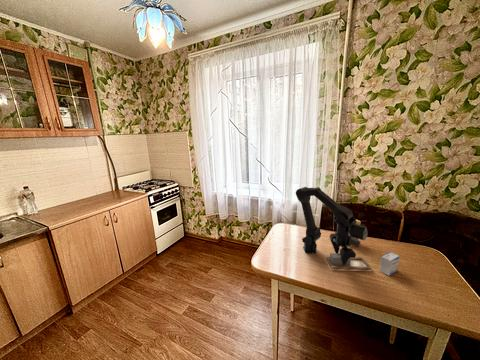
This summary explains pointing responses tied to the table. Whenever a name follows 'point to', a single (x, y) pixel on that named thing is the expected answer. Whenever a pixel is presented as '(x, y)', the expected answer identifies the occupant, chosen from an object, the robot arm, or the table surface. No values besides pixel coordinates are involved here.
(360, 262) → the tray
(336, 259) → the grey box with label
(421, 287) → the table surface
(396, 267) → the medicine box
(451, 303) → the table surface
